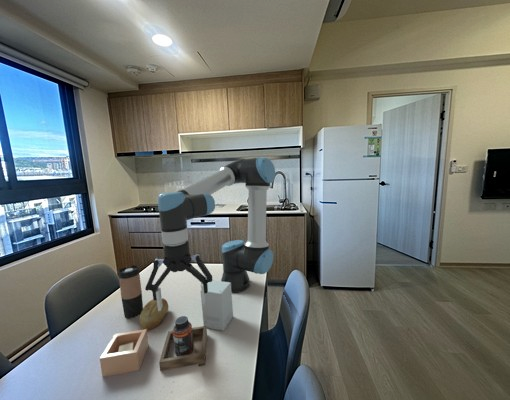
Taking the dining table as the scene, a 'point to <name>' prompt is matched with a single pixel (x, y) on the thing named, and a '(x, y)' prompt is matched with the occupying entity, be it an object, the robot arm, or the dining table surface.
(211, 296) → the supplement box
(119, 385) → the dining table surface
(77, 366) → the dining table surface
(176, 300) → the dining table surface
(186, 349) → the supplement bottle
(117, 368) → the light wooden box
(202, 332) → the walnut bin
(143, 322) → the bread roll
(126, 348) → the maple cube
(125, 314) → the travel mug
